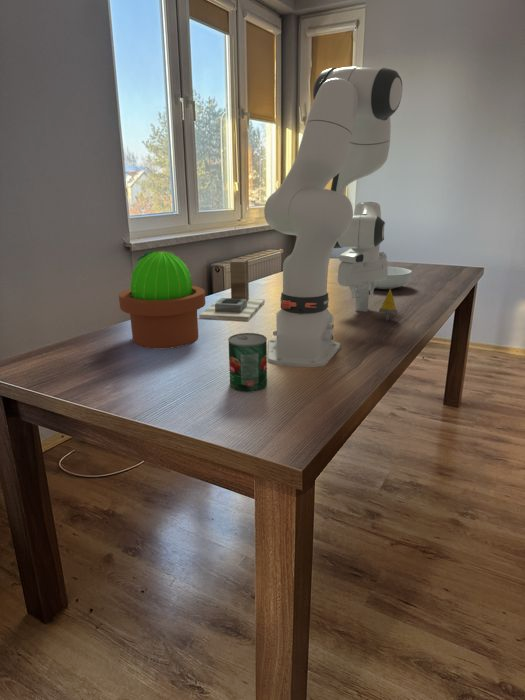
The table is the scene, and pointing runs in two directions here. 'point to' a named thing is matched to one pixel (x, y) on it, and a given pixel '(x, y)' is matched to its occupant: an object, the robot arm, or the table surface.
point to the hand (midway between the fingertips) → (362, 296)
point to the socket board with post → (235, 297)
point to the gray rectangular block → (362, 297)
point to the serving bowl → (394, 278)
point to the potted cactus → (162, 302)
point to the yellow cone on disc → (388, 305)
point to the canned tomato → (248, 362)
